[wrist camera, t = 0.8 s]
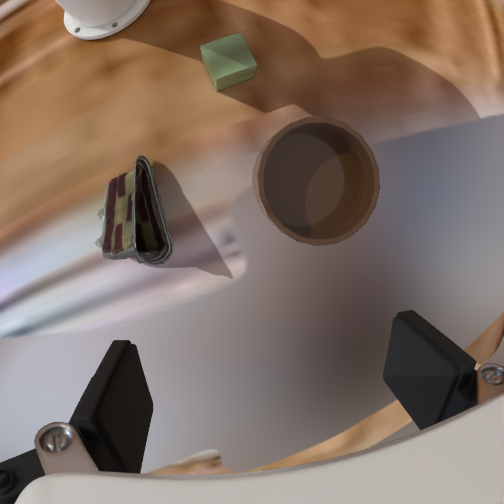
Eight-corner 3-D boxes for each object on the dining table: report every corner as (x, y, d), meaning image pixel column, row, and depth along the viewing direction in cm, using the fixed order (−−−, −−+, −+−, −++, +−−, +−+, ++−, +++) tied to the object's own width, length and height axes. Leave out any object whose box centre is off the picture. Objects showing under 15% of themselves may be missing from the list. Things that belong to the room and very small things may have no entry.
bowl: (234, 149, 32) (236, 144, 28) (336, 111, 32) (353, 102, 28) (279, 253, 36) (287, 265, 31) (373, 210, 36) (393, 216, 31)
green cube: (202, 60, 29) (199, 45, 25) (237, 47, 29) (240, 31, 25) (216, 91, 31) (216, 79, 26) (253, 78, 31) (257, 65, 26)
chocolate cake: (94, 167, 32) (64, 255, 26) (140, 148, 30) (114, 242, 24) (136, 211, 39) (121, 292, 33) (180, 199, 38) (169, 285, 32)
